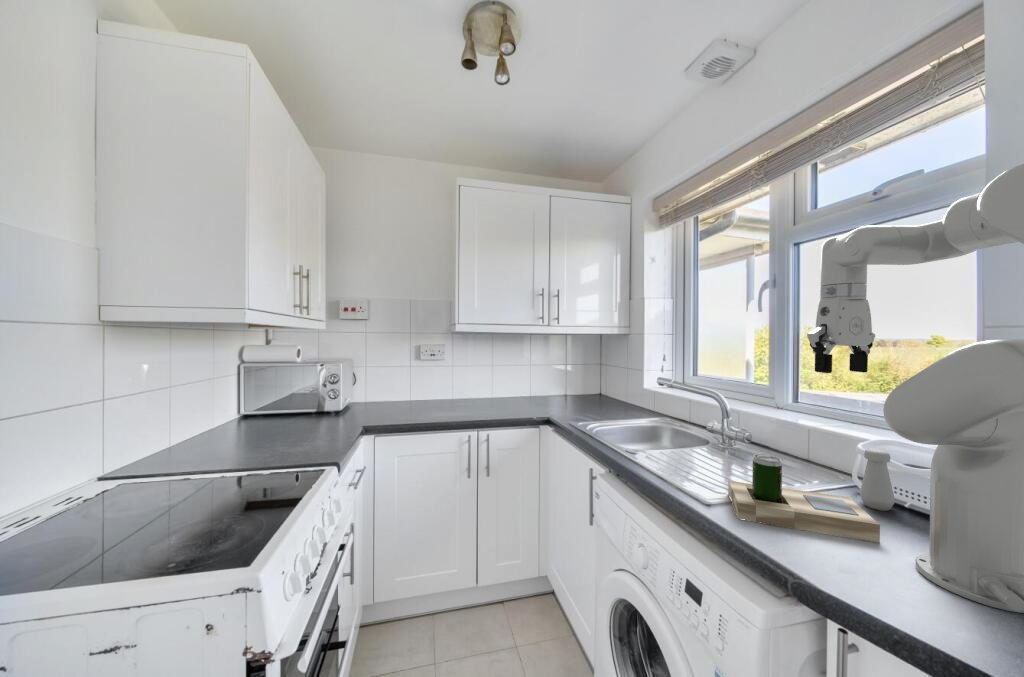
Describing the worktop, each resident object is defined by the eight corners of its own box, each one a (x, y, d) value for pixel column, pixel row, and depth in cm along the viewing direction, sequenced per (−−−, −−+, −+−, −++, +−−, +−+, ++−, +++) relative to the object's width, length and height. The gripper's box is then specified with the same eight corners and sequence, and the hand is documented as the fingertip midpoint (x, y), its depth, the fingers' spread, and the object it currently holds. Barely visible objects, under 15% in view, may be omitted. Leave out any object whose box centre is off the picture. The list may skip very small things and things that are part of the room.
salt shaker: (889, 504, 85) (890, 448, 85) (899, 515, 81) (900, 455, 80) (855, 499, 88) (856, 444, 88) (863, 508, 83) (864, 451, 83)
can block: (879, 543, 69) (880, 523, 69) (738, 519, 78) (738, 501, 78) (848, 512, 81) (848, 496, 81) (728, 495, 90) (728, 479, 90)
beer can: (758, 516, 80) (759, 460, 79) (748, 505, 85) (748, 453, 85) (786, 518, 78) (787, 462, 78) (774, 507, 84) (774, 454, 84)
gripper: (829, 290, 75) (827, 374, 75) (893, 293, 79) (891, 373, 79) (793, 294, 82) (792, 370, 83) (854, 296, 86) (852, 369, 86)
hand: (840, 372), depth 81 cm, fingers open, 9 cm apart
